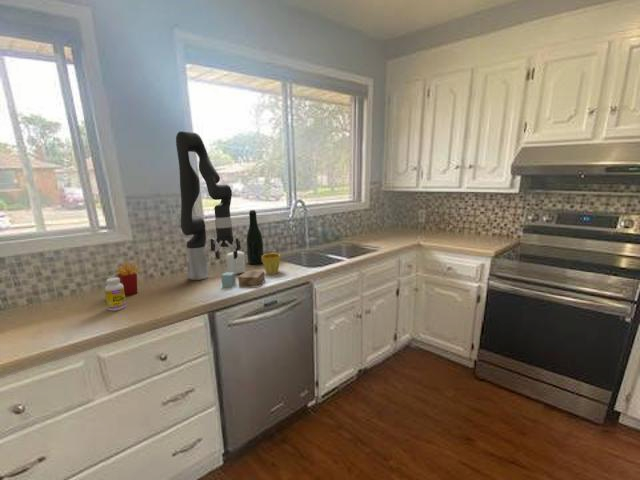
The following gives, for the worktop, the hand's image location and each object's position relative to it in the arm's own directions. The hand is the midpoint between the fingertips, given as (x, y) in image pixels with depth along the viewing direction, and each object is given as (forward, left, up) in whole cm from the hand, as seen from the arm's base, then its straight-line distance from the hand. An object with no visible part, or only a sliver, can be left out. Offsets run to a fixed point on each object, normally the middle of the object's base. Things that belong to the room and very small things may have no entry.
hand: (227, 258), depth 159 cm
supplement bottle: (-38, -29, -14) cm, 50 cm away
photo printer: (-3, +20, -14) cm, 25 cm away
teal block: (0, 0, -14) cm, 14 cm away
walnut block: (+11, +3, -14) cm, 18 cm away
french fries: (-44, -11, -14) cm, 47 cm away
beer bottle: (+2, +42, -14) cm, 44 cm away
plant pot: (+17, +21, -14) cm, 30 cm away
